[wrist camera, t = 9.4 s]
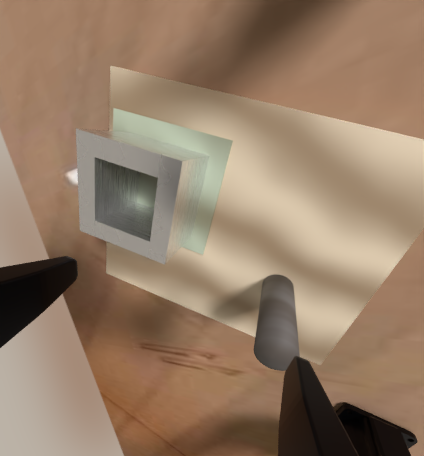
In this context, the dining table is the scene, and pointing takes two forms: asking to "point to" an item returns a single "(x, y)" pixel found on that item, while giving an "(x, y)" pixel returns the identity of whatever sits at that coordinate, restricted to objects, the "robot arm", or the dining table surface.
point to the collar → (128, 191)
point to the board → (274, 213)
